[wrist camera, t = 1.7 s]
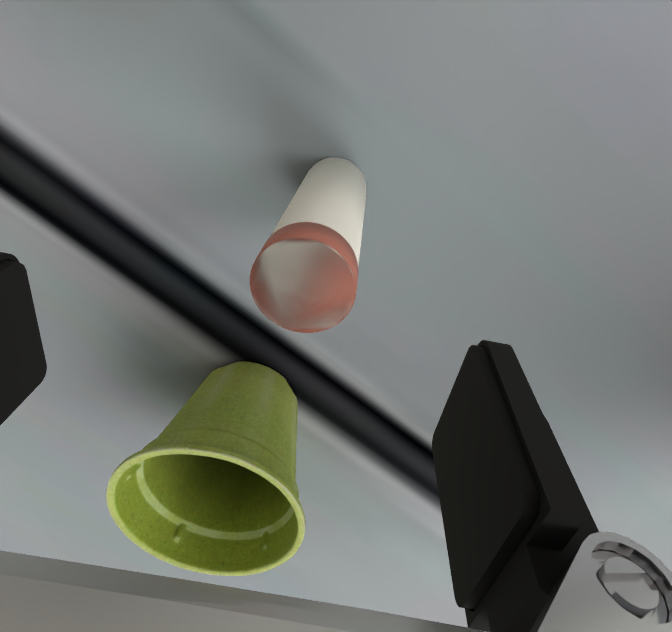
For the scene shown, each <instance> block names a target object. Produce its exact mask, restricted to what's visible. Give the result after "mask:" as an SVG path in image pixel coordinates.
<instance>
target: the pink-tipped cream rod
mask: <svg viewBox="0 0 672 632" xmlns="http://www.w3.org/2000/svg"><path fill="white" fill-rule="evenodd" d="M366 194H367V187H366V181H365V178H364V176H363V174H362V172H361V171H360V170H359V168H358V167H357V166H356V165H354V164H353V163H352V162H350V161H348V160H346V159H343V158H338V157H331V158H326V159H323V160H320V161H319V162H317V163H316V164H314V165H313V166H312V167H311V168H310V170H309V171H308V173H307V174H306V176H305V178H304V180H303V181H302V183H301V185H300V186H299V188H298V190H297V191H296V193H295V195H294V197H293V198H292V200H291V202H290V203H289V205H288V207H287V209H286V210H285V212H284V214H283V215H282V217H281V219H280V220H279V222H278V224H277V226H276V227H275V229H274V231H273V232H272V234H271V236H270V237H269V239H268V240H267V242H266V243H265V245H264V246H263V248H262V250H261V251H260V253H259V255H258V256H257V258H256V260H255V262H254V264H253V266H252V269H251V274H250V288H251V293H252V296H253V298H254V301H255V303H256V304H257V306H258V308H259V309H260V310H261V312H262V313H263V314H264V315H265V316H266V317H267V318H268V319H270V320H271V321H272V322H274V323H275V324H277V325H279V326H281V327H283V328H285V329H288V330H291V331H295V332H302V333H313V332H319V331H323V330H326V329H329V328H331V327H333V326H335V325H336V324H338V323H339V322H341V321H342V320H343V319H344V318H345V317H346V316H347V315H348V313H349V312H350V310H351V308H352V306H353V304H354V301H355V297H356V289H357V280H358V265H359V256H360V247H361V238H362V229H363V220H364V211H365V202H366Z"/></svg>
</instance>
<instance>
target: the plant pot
mask: <svg viewBox="0 0 672 632" xmlns="http://www.w3.org/2000/svg"><path fill="white" fill-rule="evenodd" d="M297 410H298V404H297V398H296V396H295V395H294V393H293V391H292V390H291V388H290V386H289V385H288V383H287V381H286V379H285V378H284V377H283V376H282V375H280V374H279V373H278V372H276V371H274V370H273V369H271V368H269V367H267V366H264V365H261V364H258V363H253V362H235V363H232V364H229V365H227V366H224V367H220V368H217V369H215V370H213V371H212V372H211V373H210V374H209V375H208V376H207V378H206V379H205V380H204V381H203V382H202V384H201V385H200V386H199V387H198V389H197V390H196V391H195V392H194V394H193V395H192V396H191V398H190V399H189V400H188V401H187V403H186V404H185V405H184V406H183V408H182V409H181V410H180V411H179V413H178V414H177V415H176V416H175V417H174V419H173V420H172V421H171V422H170V424H169V425H168V426H167V427H166V428H165V429H164V431H163V432H162V433H161V434H160V435H159V437H158V438H157V439H155V440H153V441H152V442H150V443H149V444H148V445H147V446H145V447H144V448H143V449H142V450H141V451H139V452H137V453H135V454H133V455H131V456H130V457H128V458H127V459H126V460H124V461H123V462H122V463H121V464H120V465H119V466H118V467H117V468H116V470H115V471H114V473H113V474H112V476H111V478H110V480H109V482H108V487H107V492H106V500H107V506H108V508H109V511H110V514H111V516H112V518H113V519H114V521H115V523H116V524H117V526H118V527H119V528H120V529H121V530H122V532H123V533H124V534H125V535H126V536H127V537H128V538H129V539H130V540H131V541H132V542H134V543H135V544H136V545H137V546H139V547H140V548H142V549H143V550H144V551H146V552H148V553H150V554H151V555H153V556H155V557H156V558H158V559H160V560H163V561H165V562H167V563H170V564H172V565H174V566H177V567H180V568H184V569H187V570H191V571H194V572H200V573H204V574H211V575H223V576H242V575H250V574H257V573H262V572H264V571H268V570H270V569H273V568H274V567H276V566H278V565H281V564H283V563H284V562H286V561H287V560H289V559H290V558H291V557H292V556H293V555H294V554H295V553H296V551H297V550H298V548H299V547H300V545H301V543H302V541H303V538H304V533H305V517H304V512H303V509H302V506H301V504H300V502H299V494H298V488H297V484H296V481H295V473H296V436H297Z"/></svg>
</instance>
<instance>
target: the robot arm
mask: <svg viewBox="0 0 672 632" xmlns="http://www.w3.org/2000/svg"><path fill="white" fill-rule="evenodd" d="M46 370H47V365H46V360H45V355H44V351H43V346H42V341H41V337H40V332H39V327H38V323H37V318H36V313H35V309H34V304H33V299H32V295H31V290H30V285H29V281H28V276H27V271H26V269H25V267H24V265H23V264H21V263H19V261H18V259H17V258H16V257H15V256H14V255H12V254H8V253H2V252H0V425H1V424H2V423H3V422H4V421H5V420H6V419H7V418H8V417H9V416H10V415H11V414H12V412H13V411H14V410H15V409H16V408H17V407H18V406H19V405H20V404H21V403H22V402H23V401H24V400H25V399H26V398H27V397H28V396H29V395H30V394H31V393H32V392H33V390H34V389H35V388H36V387H37V386H38V385H39V384H40V383H41V382H42V381H43V379H44V377H45V374H46ZM432 451H433V458H434V464H435V471H436V477H437V484H438V491H439V497H440V504H441V510H442V517H443V523H444V530H445V537H446V543H447V550H448V556H449V563H450V569H451V576H452V582H453V589H454V595H455V600H456V603H457V605H458V606H459V607H462V608H465V612H466V618H467V624H468V628H466V627H461V626H455V625H450V624H444V623H439V622H433V621H428V620H422V619H417V618H411V617H406V616H400V615H395V614H389V613H384V612H378V611H373V610H367V609H361V608H355V607H349V606H343V605H337V604H331V603H325V602H319V601H312V600H306V599H300V598H294V597H288V596H282V595H276V594H270V593H264V592H257V591H251V590H245V589H239V588H233V587H227V586H221V585H215V584H208V583H202V582H196V581H190V580H184V579H177V578H171V577H165V576H158V575H152V574H146V573H139V572H133V571H127V570H121V569H114V568H108V567H102V566H95V565H89V564H83V563H76V562H70V561H63V560H57V559H51V558H44V557H38V556H32V555H25V554H19V553H13V552H6V551H0V632H484V631H487V632H672V572H671V571H670V570H669V569H668V568H667V567H666V566H665V565H664V564H663V563H662V561H661V560H660V559H658V558H657V557H656V556H655V555H653V554H652V553H651V552H650V551H649V550H647V549H646V548H645V547H643V546H642V545H640V544H638V543H636V542H635V541H633V540H631V539H629V538H627V537H624V536H621V535H619V534H616V533H611V532H599V531H598V529H597V527H596V524H595V522H594V520H593V518H592V516H591V514H590V511H589V509H588V507H587V505H586V503H585V501H584V499H583V496H582V494H581V492H580V490H579V488H578V486H577V484H576V481H575V479H574V477H573V475H572V473H571V471H570V468H569V466H568V464H567V462H566V460H565V458H564V456H563V453H562V451H561V449H560V447H559V445H558V443H557V441H556V438H555V436H554V434H553V432H552V430H551V428H550V425H549V423H548V421H547V420H546V418H545V417H544V415H543V413H542V411H541V409H540V407H539V405H538V403H537V400H536V398H535V396H534V394H533V392H532V390H531V387H530V385H529V383H528V381H527V379H526V377H525V374H524V372H523V370H522V368H521V366H520V364H519V361H518V359H517V357H516V355H515V353H514V350H513V348H512V347H511V346H510V345H508V344H502V343H497V342H491V341H486V340H482V341H481V342H480V343H479V344H478V346H476V345H472V346H470V348H469V349H468V351H467V354H466V356H465V359H464V361H463V364H462V366H461V368H460V371H459V373H458V376H457V378H456V381H455V383H454V385H453V388H452V390H451V393H450V395H449V398H448V400H447V403H446V405H445V407H444V410H443V412H442V415H441V417H440V420H439V422H438V425H437V427H436V429H435V432H434V435H433V440H432ZM480 630H481V631H480Z"/></svg>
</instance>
